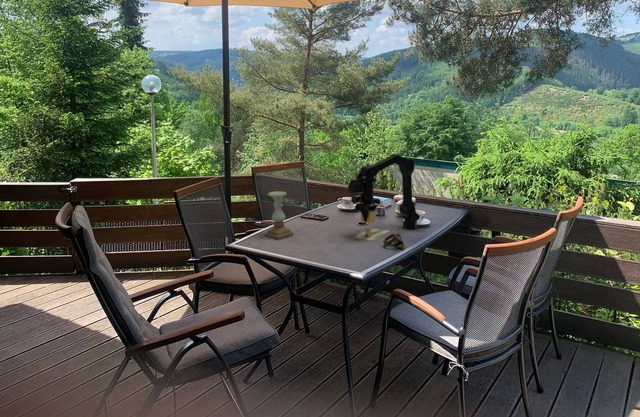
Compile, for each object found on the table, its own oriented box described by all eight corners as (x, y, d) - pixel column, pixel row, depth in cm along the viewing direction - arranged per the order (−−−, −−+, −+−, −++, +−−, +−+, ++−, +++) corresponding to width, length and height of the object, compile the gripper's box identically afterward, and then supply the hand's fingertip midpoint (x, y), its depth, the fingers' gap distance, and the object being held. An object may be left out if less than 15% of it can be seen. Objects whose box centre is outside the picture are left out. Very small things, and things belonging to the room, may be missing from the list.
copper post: (371, 236, 255) (371, 228, 254) (369, 237, 252) (369, 230, 252) (366, 235, 256) (366, 228, 255) (364, 236, 254) (364, 229, 253)
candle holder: (280, 232, 271) (278, 190, 265) (293, 235, 263) (291, 192, 258) (265, 236, 263) (262, 193, 258) (278, 240, 256) (275, 196, 250)
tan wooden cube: (374, 221, 253) (374, 211, 252) (370, 223, 249) (370, 213, 248) (365, 220, 256) (365, 210, 255) (360, 222, 252) (360, 212, 250)
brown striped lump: (403, 253, 231) (395, 239, 229) (387, 259, 236) (378, 245, 235) (409, 240, 241) (401, 227, 239) (393, 246, 246) (385, 233, 244)
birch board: (390, 232, 264) (390, 230, 263) (375, 242, 247) (375, 240, 247) (369, 229, 270) (369, 228, 270) (352, 239, 254) (352, 237, 253)
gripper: (361, 186, 260) (361, 214, 264) (345, 193, 245) (345, 222, 249) (380, 188, 255) (380, 216, 258) (365, 194, 239) (365, 225, 243)
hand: (367, 220), depth 252 cm, fingers closed on tan wooden cube, 5 cm apart
